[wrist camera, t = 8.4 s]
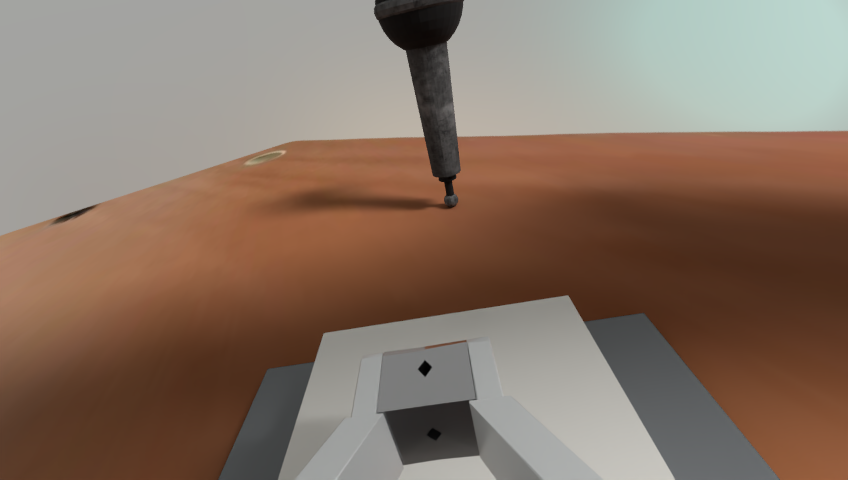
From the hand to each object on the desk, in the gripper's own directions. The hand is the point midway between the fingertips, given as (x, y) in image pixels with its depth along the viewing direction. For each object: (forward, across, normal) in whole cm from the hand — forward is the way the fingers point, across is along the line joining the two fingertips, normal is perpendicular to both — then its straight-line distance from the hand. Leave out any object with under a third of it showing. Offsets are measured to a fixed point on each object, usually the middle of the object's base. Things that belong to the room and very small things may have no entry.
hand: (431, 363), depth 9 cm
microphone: (+26, -2, +8) cm, 28 cm away
